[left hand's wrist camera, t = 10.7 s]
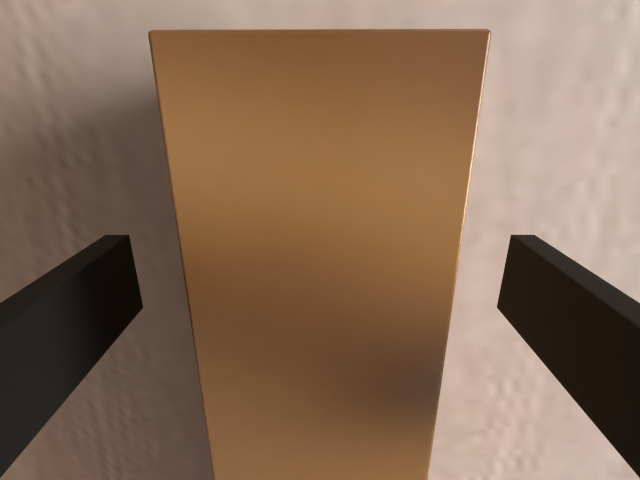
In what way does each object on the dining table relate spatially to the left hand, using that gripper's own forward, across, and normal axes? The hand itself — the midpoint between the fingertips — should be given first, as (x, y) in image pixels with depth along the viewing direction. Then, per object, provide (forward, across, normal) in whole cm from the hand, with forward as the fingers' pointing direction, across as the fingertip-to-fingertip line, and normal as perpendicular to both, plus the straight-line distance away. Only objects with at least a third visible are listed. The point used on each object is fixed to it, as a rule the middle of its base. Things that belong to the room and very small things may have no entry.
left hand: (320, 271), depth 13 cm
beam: (+4, 0, -21) cm, 22 cm away
